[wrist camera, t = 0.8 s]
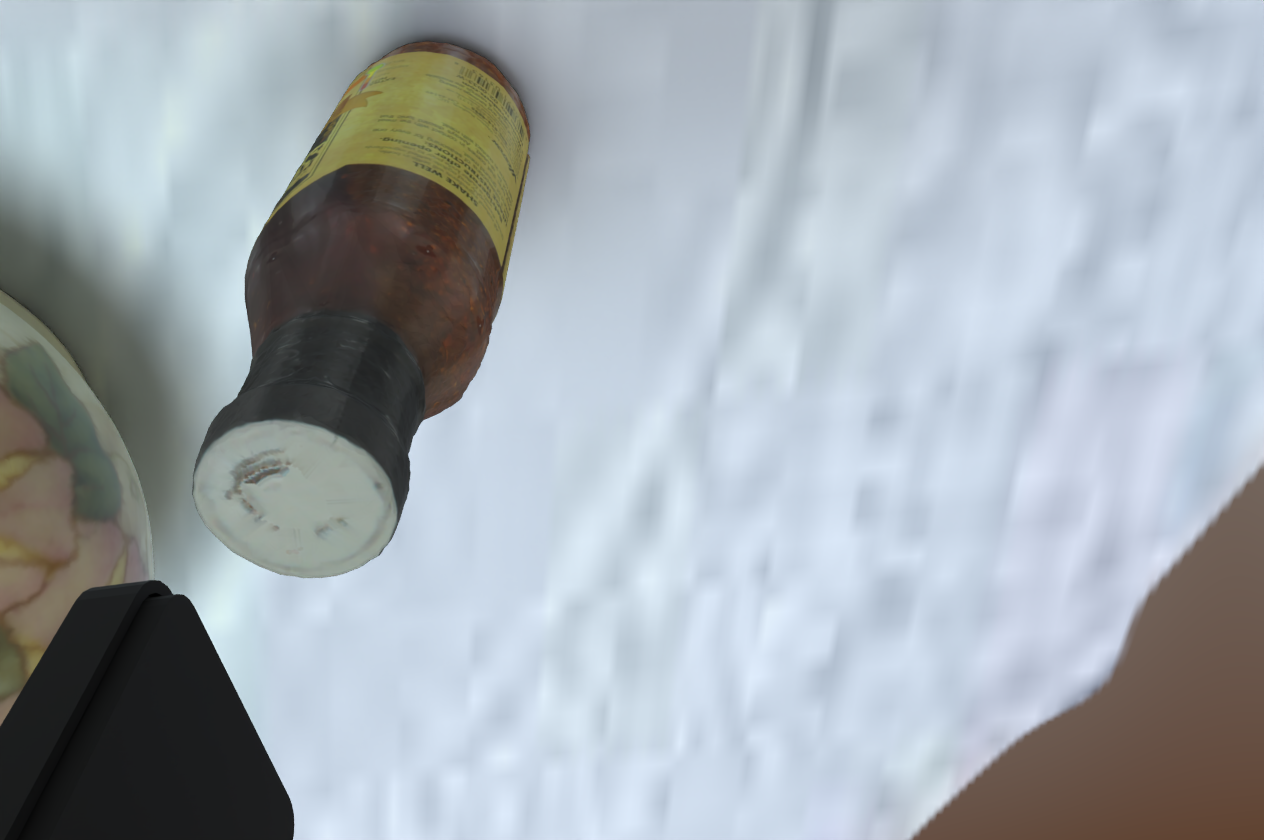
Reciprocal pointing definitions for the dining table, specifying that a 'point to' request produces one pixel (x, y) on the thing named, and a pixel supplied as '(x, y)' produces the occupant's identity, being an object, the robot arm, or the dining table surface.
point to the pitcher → (57, 496)
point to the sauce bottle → (366, 310)
